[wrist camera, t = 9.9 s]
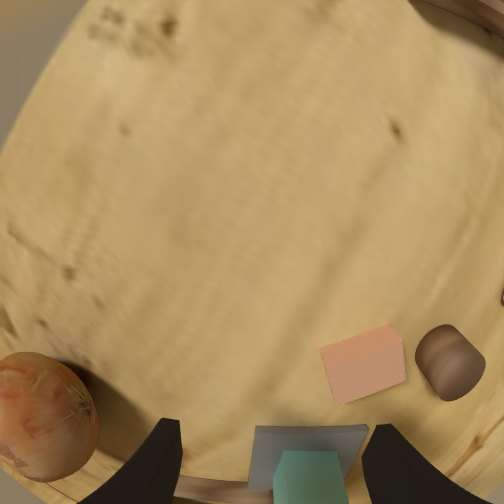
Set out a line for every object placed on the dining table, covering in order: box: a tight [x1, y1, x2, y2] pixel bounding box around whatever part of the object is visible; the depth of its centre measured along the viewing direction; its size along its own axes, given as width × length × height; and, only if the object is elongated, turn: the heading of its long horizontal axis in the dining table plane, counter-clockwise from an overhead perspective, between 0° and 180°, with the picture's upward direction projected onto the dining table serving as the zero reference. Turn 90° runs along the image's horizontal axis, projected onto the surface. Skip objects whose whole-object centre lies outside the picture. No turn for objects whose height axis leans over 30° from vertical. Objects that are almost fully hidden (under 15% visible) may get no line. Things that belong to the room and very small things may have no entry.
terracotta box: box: [319, 324, 406, 406], centre depth 19 cm, size 5×4×2 cm
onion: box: [0, 352, 99, 483], centre depth 17 cm, size 10×10×10 cm
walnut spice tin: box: [415, 325, 486, 401], centre depth 18 cm, size 4×4×4 cm
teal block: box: [273, 450, 349, 504], centre depth 20 cm, size 4×4×6 cm
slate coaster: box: [248, 424, 368, 489], centre depth 23 cm, size 9×9×1 cm
